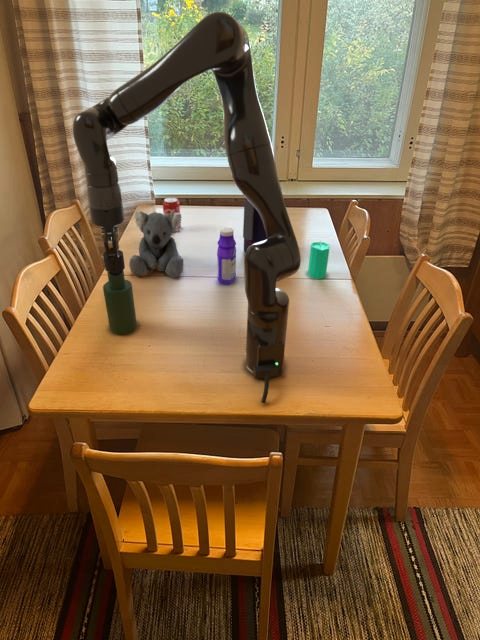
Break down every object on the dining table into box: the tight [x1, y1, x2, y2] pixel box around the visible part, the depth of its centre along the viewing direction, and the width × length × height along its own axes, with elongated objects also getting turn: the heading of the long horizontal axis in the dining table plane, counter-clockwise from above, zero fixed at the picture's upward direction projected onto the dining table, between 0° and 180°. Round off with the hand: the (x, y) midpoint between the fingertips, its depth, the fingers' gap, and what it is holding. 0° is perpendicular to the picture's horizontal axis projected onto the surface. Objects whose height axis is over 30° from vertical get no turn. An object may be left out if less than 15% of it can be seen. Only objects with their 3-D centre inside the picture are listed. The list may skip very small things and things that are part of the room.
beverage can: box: [162, 196, 182, 233], centre depth 181 cm, size 6×6×12 cm
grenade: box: [242, 196, 267, 254], centre depth 159 cm, size 14×12×30 cm
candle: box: [307, 241, 331, 280], centre depth 152 cm, size 6×6×12 cm
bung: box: [102, 249, 126, 275], centre depth 118 cm, size 5×5×6 cm
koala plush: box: [128, 210, 184, 279], centre depth 153 cm, size 17×18×20 cm
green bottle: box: [102, 269, 138, 336], centre depth 124 cm, size 7×7×17 cm
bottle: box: [216, 226, 237, 285], centre depth 146 cm, size 7×6×17 cm
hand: (115, 267), depth 118 cm, fingers closed on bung, 4 cm apart
